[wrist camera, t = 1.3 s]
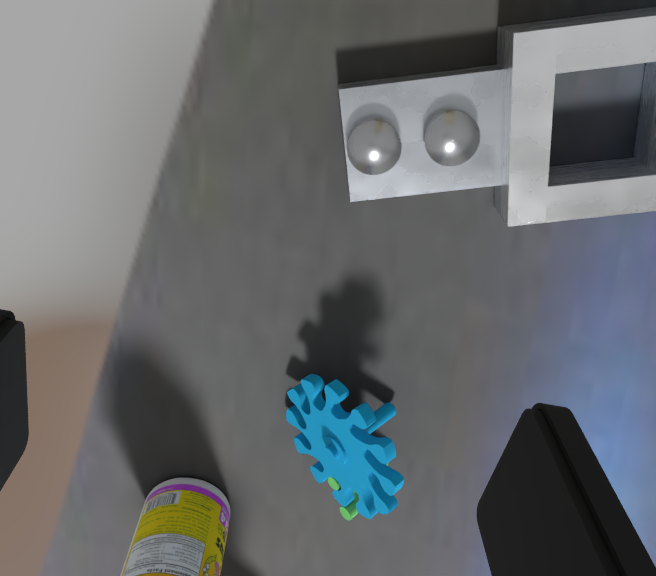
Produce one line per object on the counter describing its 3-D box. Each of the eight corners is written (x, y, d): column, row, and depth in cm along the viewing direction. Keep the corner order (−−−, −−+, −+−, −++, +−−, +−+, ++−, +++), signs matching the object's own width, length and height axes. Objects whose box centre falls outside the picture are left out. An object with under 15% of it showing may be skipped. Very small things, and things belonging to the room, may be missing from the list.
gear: (271, 359, 38) (387, 433, 32) (337, 322, 42) (453, 382, 35) (287, 480, 44) (388, 565, 37) (344, 439, 47) (446, 510, 41)
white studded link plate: (870, -21, 29) (936, -18, 25) (814, 171, 33) (865, 193, 30) (334, 47, 30) (335, 57, 27) (352, 221, 35) (355, 247, 32)
